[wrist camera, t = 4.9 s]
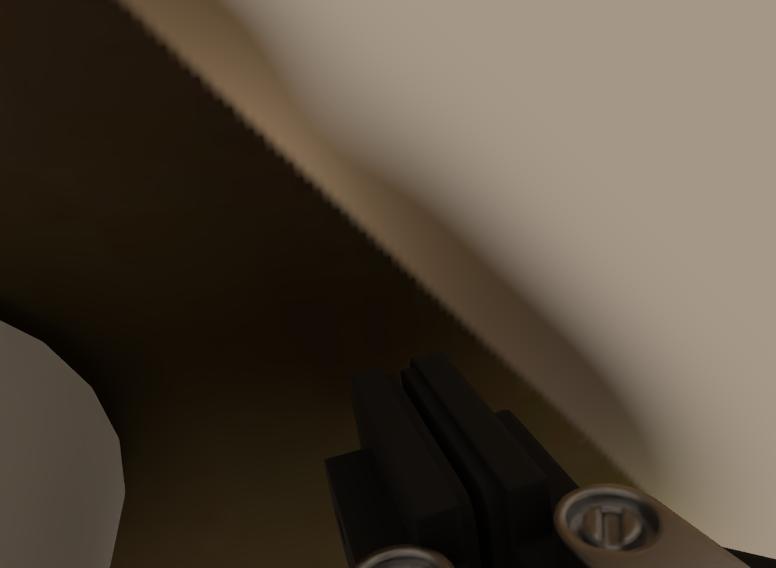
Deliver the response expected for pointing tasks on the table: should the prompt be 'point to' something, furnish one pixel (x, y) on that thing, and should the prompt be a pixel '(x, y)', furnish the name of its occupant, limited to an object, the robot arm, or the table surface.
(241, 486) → the table surface
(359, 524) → the robot arm
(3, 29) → the table surface
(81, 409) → the can
